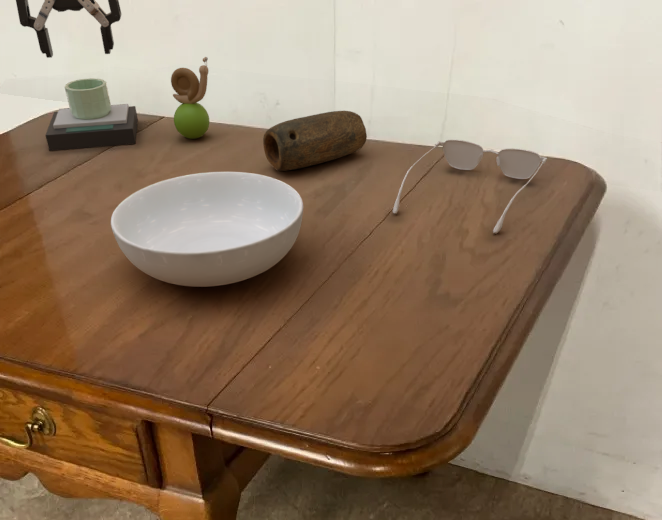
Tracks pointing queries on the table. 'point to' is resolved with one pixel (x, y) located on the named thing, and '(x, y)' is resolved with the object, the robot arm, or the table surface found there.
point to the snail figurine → (190, 101)
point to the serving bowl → (208, 227)
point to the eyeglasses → (471, 154)
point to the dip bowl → (88, 98)
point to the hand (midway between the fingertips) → (79, 54)
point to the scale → (92, 129)
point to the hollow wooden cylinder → (313, 139)
